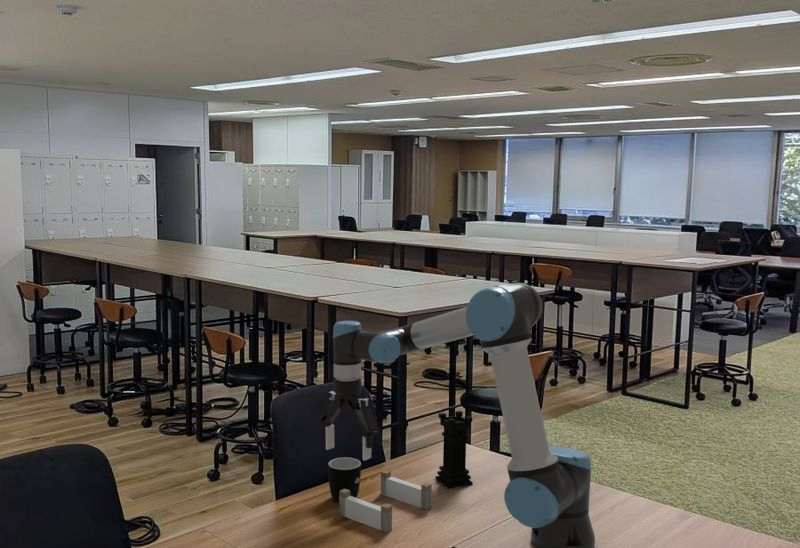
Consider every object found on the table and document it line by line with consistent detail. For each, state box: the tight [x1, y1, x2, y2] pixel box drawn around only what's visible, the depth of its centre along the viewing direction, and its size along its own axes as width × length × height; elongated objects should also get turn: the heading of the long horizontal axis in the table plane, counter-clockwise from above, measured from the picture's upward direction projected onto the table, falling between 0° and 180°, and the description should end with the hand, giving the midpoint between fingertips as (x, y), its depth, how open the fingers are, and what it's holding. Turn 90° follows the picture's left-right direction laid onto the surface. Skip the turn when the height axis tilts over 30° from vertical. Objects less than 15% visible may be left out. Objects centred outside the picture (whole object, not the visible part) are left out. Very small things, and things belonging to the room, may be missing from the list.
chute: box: [338, 469, 433, 533], centre depth 190 cm, size 16×19×6 cm
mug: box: [327, 456, 362, 504], centre depth 198 cm, size 12×9×10 cm
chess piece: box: [434, 410, 474, 490], centre depth 209 cm, size 8×8×20 cm
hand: (348, 453), depth 197 cm, fingers open, 13 cm apart
